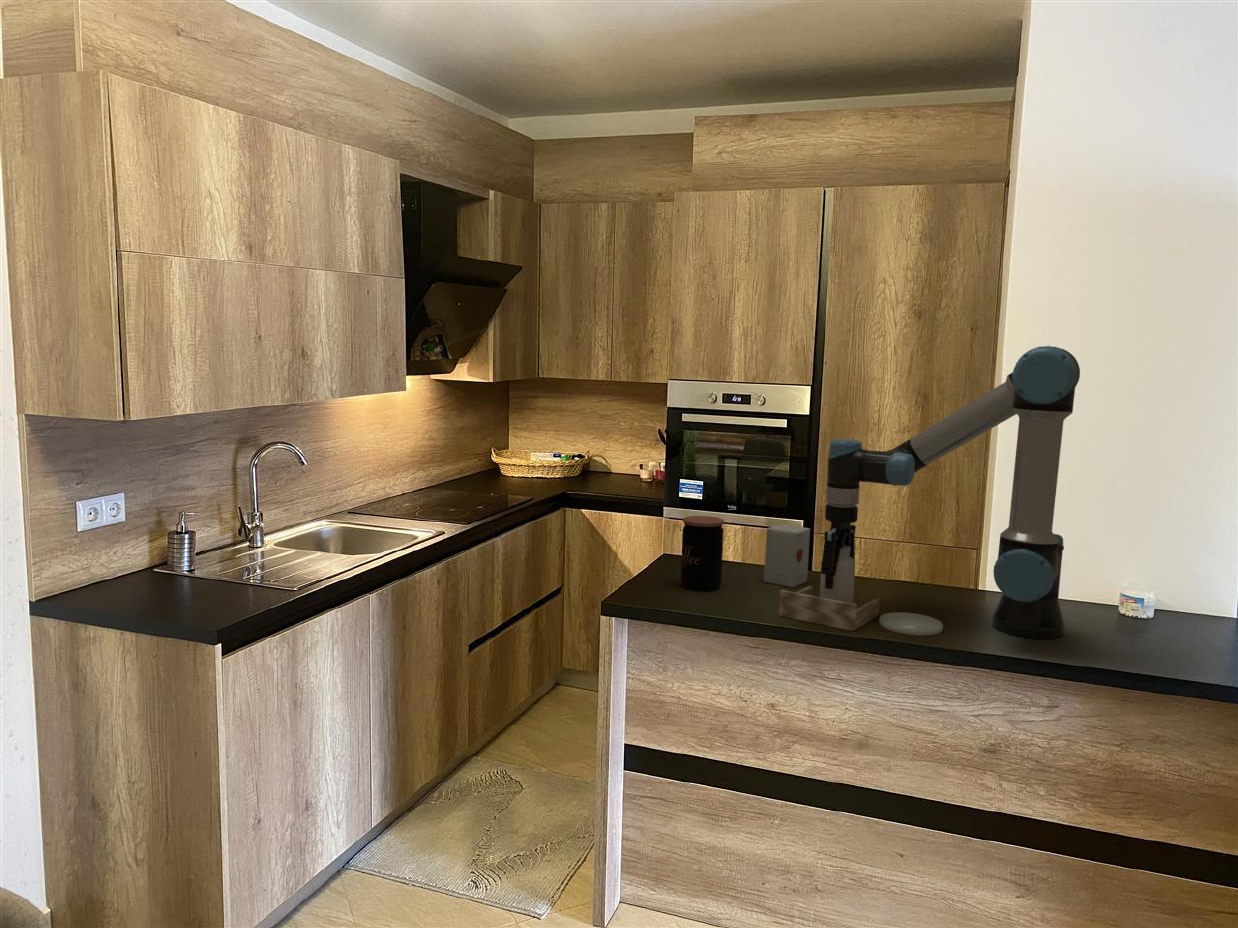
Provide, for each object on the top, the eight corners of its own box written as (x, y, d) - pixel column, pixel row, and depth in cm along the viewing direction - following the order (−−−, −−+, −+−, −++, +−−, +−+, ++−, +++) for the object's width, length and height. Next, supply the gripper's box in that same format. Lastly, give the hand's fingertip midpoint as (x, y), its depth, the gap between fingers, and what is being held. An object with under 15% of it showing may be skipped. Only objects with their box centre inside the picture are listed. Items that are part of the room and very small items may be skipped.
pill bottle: (825, 600, 227) (828, 540, 225) (857, 605, 223) (860, 545, 221) (814, 607, 220) (817, 546, 219) (847, 613, 216) (851, 550, 214)
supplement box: (793, 588, 244) (796, 532, 242) (763, 582, 249) (765, 527, 247) (808, 581, 251) (811, 527, 249) (778, 576, 256) (781, 523, 254)
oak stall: (878, 615, 220) (880, 591, 219) (853, 631, 207) (855, 605, 206) (807, 601, 231) (808, 578, 230) (778, 615, 218) (780, 590, 217)
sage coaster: (950, 625, 214) (950, 620, 214) (931, 639, 203) (932, 634, 203) (891, 613, 222) (891, 608, 222) (870, 626, 211) (870, 621, 211)
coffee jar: (674, 582, 246) (677, 516, 244) (711, 580, 249) (714, 515, 247) (689, 592, 236) (692, 523, 233) (727, 590, 239) (730, 522, 237)
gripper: (843, 497, 229) (838, 586, 232) (809, 508, 212) (804, 603, 215) (872, 501, 225) (867, 591, 228) (840, 512, 208) (834, 609, 211)
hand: (836, 597), depth 221 cm, fingers closed on pill bottle, 8 cm apart
